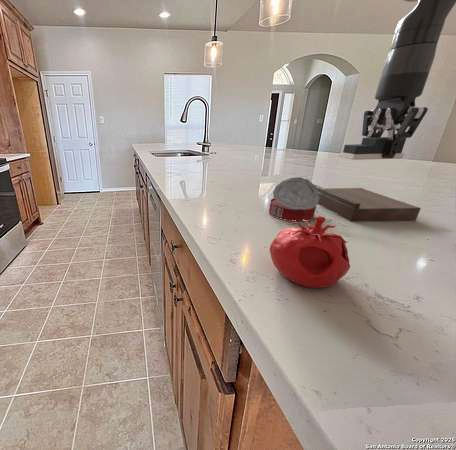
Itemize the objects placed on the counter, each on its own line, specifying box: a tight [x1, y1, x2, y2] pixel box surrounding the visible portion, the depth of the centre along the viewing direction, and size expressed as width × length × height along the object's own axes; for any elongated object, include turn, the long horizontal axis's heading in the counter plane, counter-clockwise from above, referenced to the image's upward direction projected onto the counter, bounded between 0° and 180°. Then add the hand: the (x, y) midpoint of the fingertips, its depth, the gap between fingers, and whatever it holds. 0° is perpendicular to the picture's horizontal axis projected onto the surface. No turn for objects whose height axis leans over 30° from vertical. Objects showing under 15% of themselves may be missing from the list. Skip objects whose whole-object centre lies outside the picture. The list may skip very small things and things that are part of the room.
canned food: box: [268, 176, 319, 222], centre depth 59 cm, size 11×10×10 cm
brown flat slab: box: [314, 184, 422, 222], centre depth 62 cm, size 14×18×4 cm
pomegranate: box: [269, 215, 351, 289], centre depth 35 cm, size 10×10×9 cm
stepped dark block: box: [339, 136, 407, 161], centre depth 57 cm, size 11×5×4 cm, turn 88°
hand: (378, 156), depth 58 cm, fingers closed on stepped dark block, 4 cm apart
